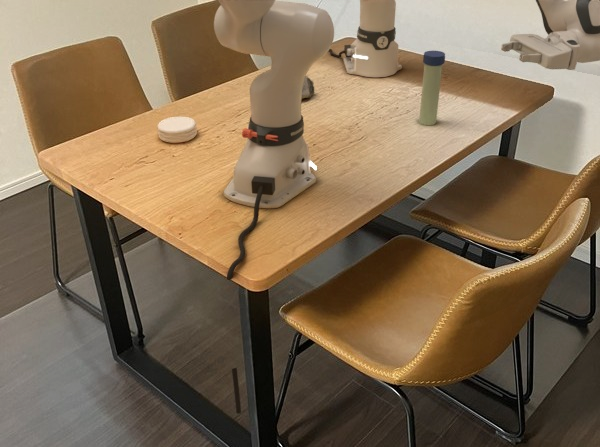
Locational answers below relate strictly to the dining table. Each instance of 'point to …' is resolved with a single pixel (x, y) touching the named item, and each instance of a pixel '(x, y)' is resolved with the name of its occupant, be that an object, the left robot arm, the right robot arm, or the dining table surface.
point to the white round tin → (177, 129)
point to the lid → (434, 58)
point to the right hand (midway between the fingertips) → (511, 52)
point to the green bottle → (430, 94)
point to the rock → (307, 88)
